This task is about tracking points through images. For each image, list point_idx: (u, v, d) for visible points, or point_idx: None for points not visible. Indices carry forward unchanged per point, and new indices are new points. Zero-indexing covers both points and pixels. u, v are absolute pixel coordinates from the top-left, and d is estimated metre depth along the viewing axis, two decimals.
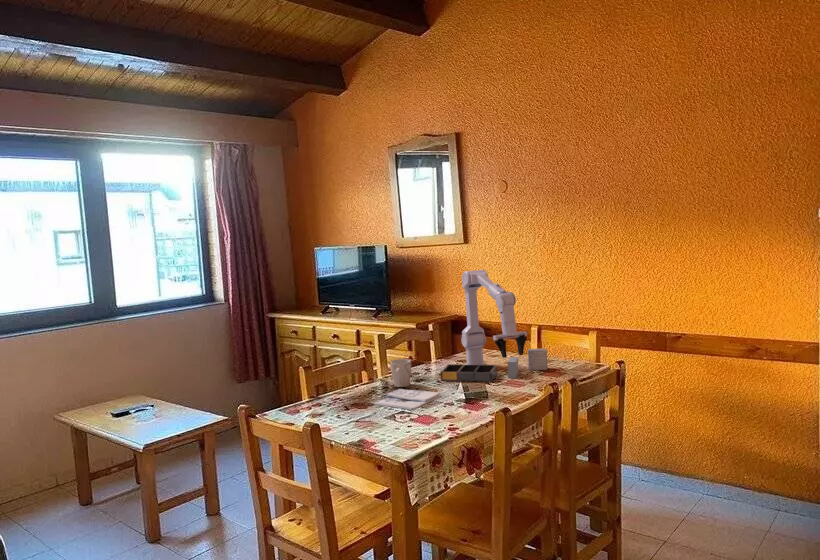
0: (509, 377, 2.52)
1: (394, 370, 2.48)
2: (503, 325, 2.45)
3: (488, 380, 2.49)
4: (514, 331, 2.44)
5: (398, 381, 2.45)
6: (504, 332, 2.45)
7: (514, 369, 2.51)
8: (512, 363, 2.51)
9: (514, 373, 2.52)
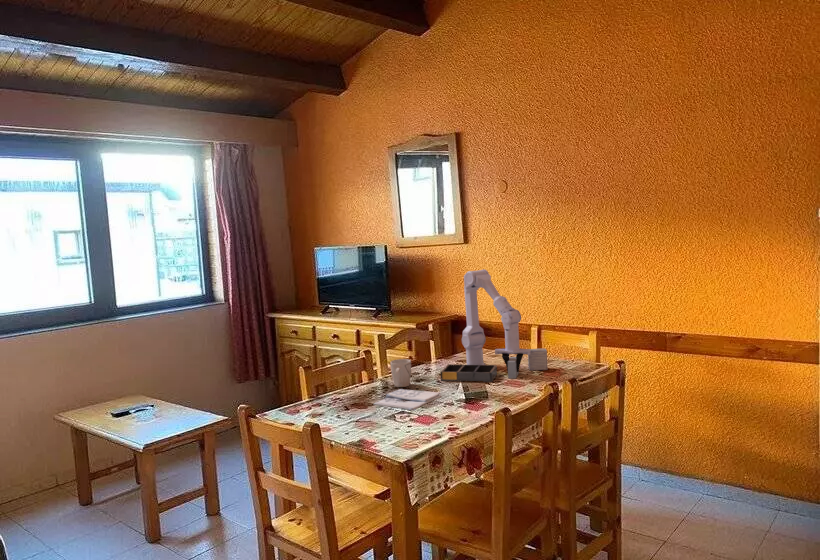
0: (509, 377, 2.52)
1: (394, 370, 2.48)
2: (505, 341, 2.55)
3: (488, 380, 2.49)
4: (512, 349, 2.53)
5: (398, 381, 2.45)
6: (505, 348, 2.56)
7: (514, 369, 2.51)
8: (512, 363, 2.51)
9: (514, 373, 2.52)
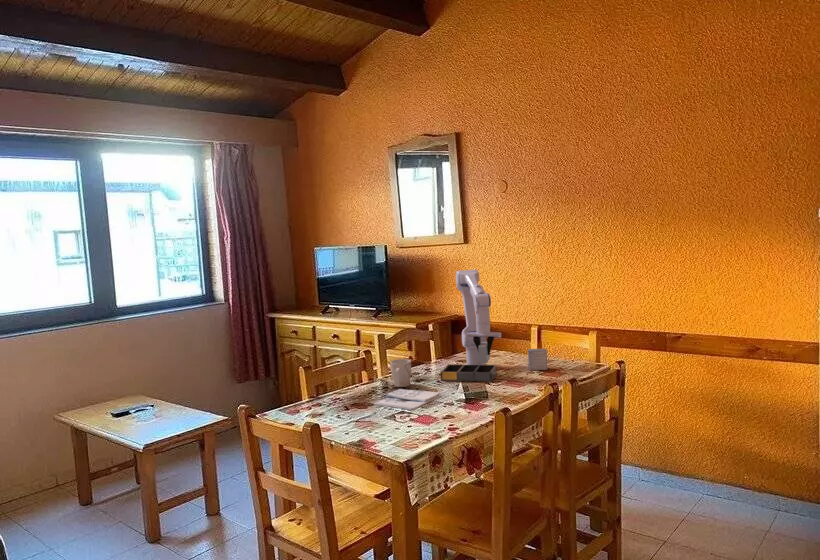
0: (480, 361, 2.53)
1: (394, 370, 2.48)
2: (476, 324, 2.56)
3: (488, 380, 2.49)
4: (483, 332, 2.54)
5: (398, 381, 2.45)
6: (476, 331, 2.57)
7: (485, 353, 2.52)
8: (483, 347, 2.52)
9: (485, 357, 2.52)
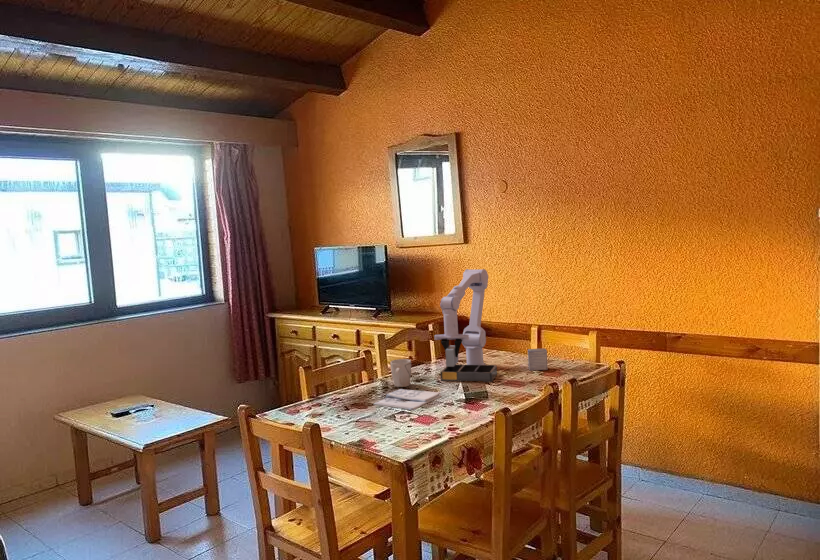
0: (447, 365, 2.54)
1: (394, 370, 2.48)
2: (444, 327, 2.58)
3: (488, 380, 2.49)
4: (451, 334, 2.55)
5: (398, 381, 2.45)
6: None
7: (452, 357, 2.54)
8: (450, 351, 2.53)
9: (452, 361, 2.54)
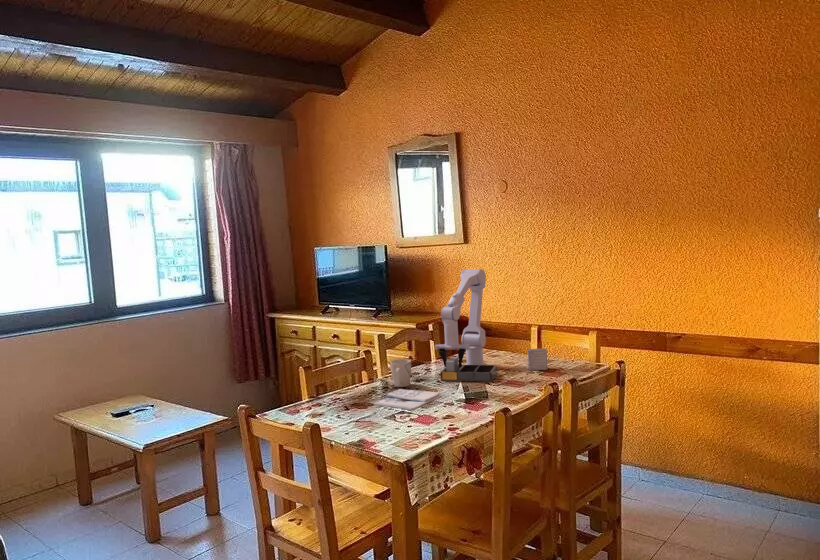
0: None
1: (394, 370, 2.48)
2: None
3: (488, 380, 2.49)
4: (451, 344, 2.56)
5: (398, 381, 2.45)
6: (445, 343, 2.59)
7: (452, 369, 2.54)
8: (450, 363, 2.54)
9: None
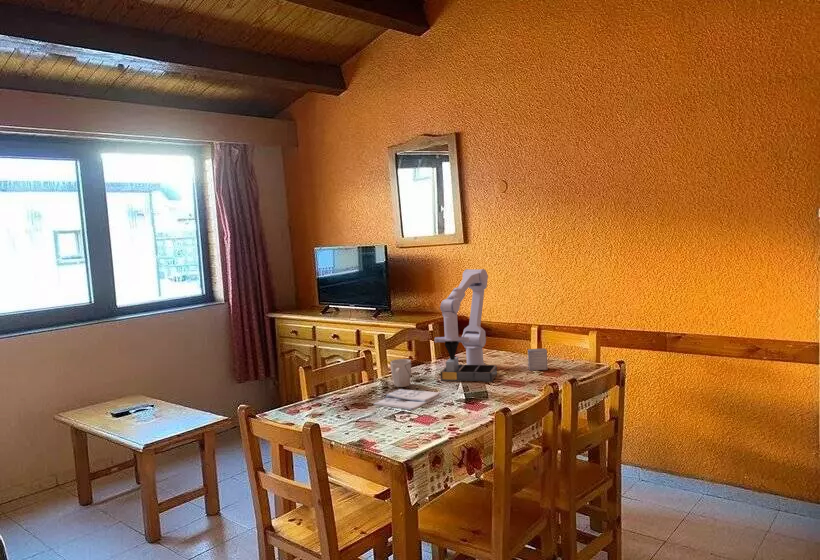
0: None
1: (394, 370, 2.48)
2: (444, 329, 2.58)
3: (488, 380, 2.49)
4: (451, 337, 2.55)
5: (398, 381, 2.45)
6: None
7: (452, 369, 2.54)
8: (450, 363, 2.54)
9: None
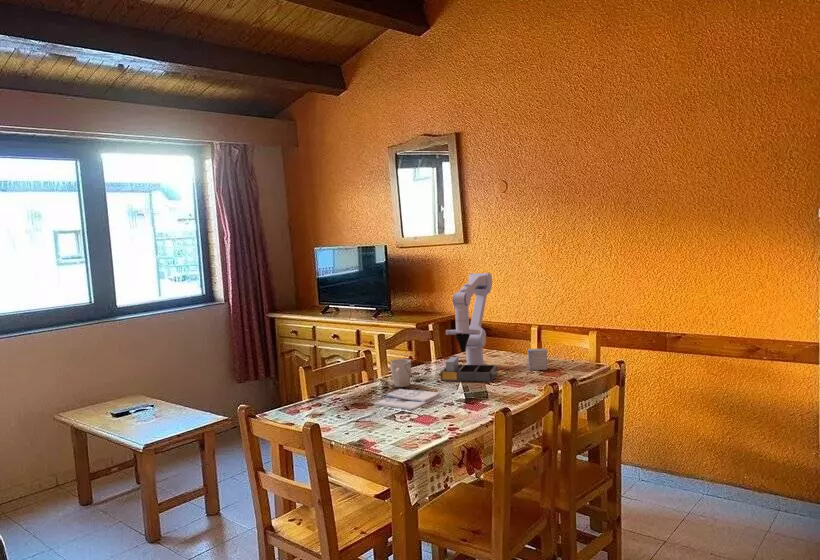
0: None
1: (394, 370, 2.48)
2: None
3: (488, 380, 2.49)
4: (462, 329, 2.59)
5: (398, 381, 2.45)
6: None
7: (452, 369, 2.54)
8: (450, 363, 2.54)
9: None
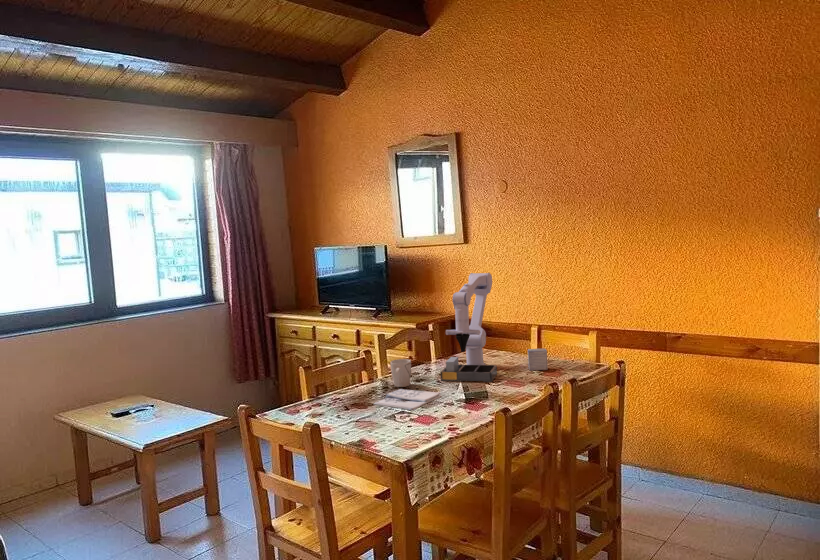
0: None
1: (394, 370, 2.48)
2: None
3: (488, 380, 2.49)
4: (462, 329, 2.59)
5: (398, 381, 2.45)
6: None
7: (452, 369, 2.54)
8: (450, 363, 2.54)
9: None
